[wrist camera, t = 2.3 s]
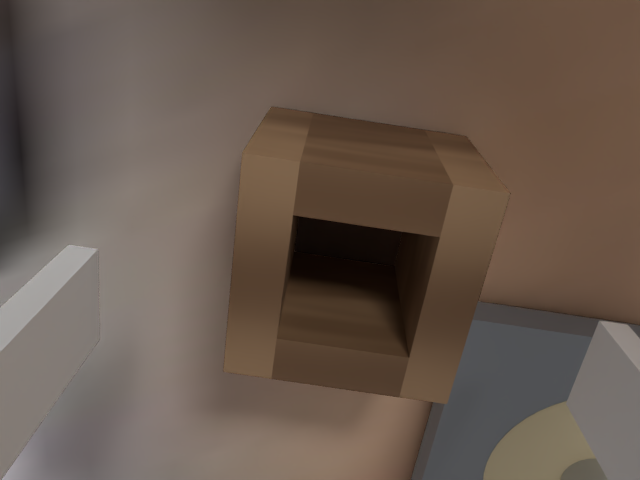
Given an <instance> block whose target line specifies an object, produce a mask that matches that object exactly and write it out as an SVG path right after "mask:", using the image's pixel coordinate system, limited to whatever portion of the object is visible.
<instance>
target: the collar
mask: <svg viewBox="0 0 640 480" xmlns="http://www.w3.org/2000/svg"><path fill="white" fill-rule="evenodd" d="M510 194H511V193H510V192H509V191H508V190H507V188H506V187H505V186H504V184H503V183H502V182H501V181H500V179H499V178H498V177H497V175H496V174H495V173H494V171H493V170H492V169H491V168H490V166H489V165H488V164H487V162H486V161H485V160H484V159H483V157H482V156H481V155H480V153H479V152H478V151H477V149H476V148H475V147H474V146H473V144H472V143H471V142H470V140H469V139H468V138H467V137H466V136H460V135H454V134H447V133H441V132H434V131H428V130H421V129H415V128H408V127H402V126H395V125H388V124H382V123H375V122H369V121H362V120H356V119H349V118H343V117H336V116H330V115H323V114H317V113H310V112H303V111H297V110H290V109H284V108H277V107H271V108H270V109H269V111H268V113H267V114H266V116H265V117H264V119H263V121H262V122H261V124H260V125H259V127H258V128H257V130H256V132H255V133H254V135H253V136H252V138H251V140H250V141H249V143H248V144H247V146H246V148H245V149H244V151H243V152H242V160H241V172H240V183H239V195H238V206H237V218H236V229H235V241H234V252H233V264H232V275H231V287H230V298H229V310H228V321H227V333H226V344H225V356H224V367H223V372H228V373H235V374H242V375H249V376H256V377H262V378H269V379H276V380H283V381H290V382H297V383H304V384H311V385H318V386H325V387H332V388H339V389H345V390H352V391H359V392H366V393H373V394H380V395H387V396H394V397H401V398H408V399H415V400H422V401H429V402H435V403H442V404H447V403H448V399H449V396H450V393H451V389H452V386H453V383H454V379H455V376H456V373H457V369H458V366H459V363H460V360H461V356H462V353H463V350H464V346H465V343H466V340H467V336H468V333H469V330H470V326H471V323H472V320H473V316H474V313H475V310H476V307H477V303H478V300H479V297H480V293H481V290H482V287H483V283H484V280H485V277H486V273H487V270H488V267H489V263H490V260H491V257H492V254H493V250H494V247H495V244H496V240H497V237H498V234H499V230H500V227H501V224H502V220H503V217H504V214H505V210H506V207H507V204H508V201H509V197H510ZM299 216H301V217H308V218H314V219H321V220H328V221H335V222H341V223H348V224H355V225H361V226H368V227H375V228H381V229H388V230H395V231H401V232H402V235H401V239H400V243H399V248H398V252H397V257H396V261H395V266H389V265H382V264H375V263H369V262H362V261H355V260H348V259H342V258H335V257H328V256H321V255H315V254H308V253H301V252H294V250H295V242H296V235H297V228H298V221H299Z"/></svg>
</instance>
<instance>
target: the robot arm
mask: <svg viewBox="0 0 640 480" xmlns="http://www.w3.org/2000/svg"><path fill="white" fill-rule="evenodd" d="M99 340H100V318H99V258H98V249H95V248H88V247H81V246H74V245H68V246H66V247H65V248H64V249H63V250H62V251H61V252H60V253H59V254H58V255H57V256H56V257H54V258H53V259H52V260H51V261H50V262H49V263H48V264H47V265H46V266H45V267H44V268H43V269H41V270H40V271H39V272H38V273H37V274H36V275H35V276H34V277H33V278H32V279H31V280H29V281H28V282H27V283H26V284H25V285H24V286H23V287H22V288H21V289H20V290H19V291H17V292H16V293H15V294H14V295H13V296H12V297H11V298H10V299H9V300H8V301H7V302H6V303H4V304H3V305H2V306H1V307H0V480H2V478H3V477H4V476H5V474H6V473H7V471H8V470H9V468H10V467H11V466H12V464H13V463H14V461H15V460H16V458H17V457H18V456H19V454H20V453H21V451H22V450H23V448H24V447H25V446H26V444H27V443H28V441H29V440H30V438H31V437H32V435H33V434H34V433H35V431H36V430H37V428H38V427H39V425H40V424H41V423H42V421H43V420H44V418H45V417H46V415H47V414H48V413H49V411H50V410H51V408H52V407H53V405H54V404H55V403H56V401H57V400H58V398H59V397H60V395H61V394H62V393H63V391H64V390H65V388H66V387H67V385H68V384H69V383H70V381H71V380H72V378H73V377H74V375H75V374H76V373H77V371H78V370H79V368H80V367H81V365H82V364H83V362H84V361H85V360H86V358H87V357H88V355H89V354H90V352H91V351H92V350H93V348H94V347H95V345H96V344H97V342H98V341H99ZM566 405H567V406H568V408H569V410H570V412H571V414H572V416H573V417H574V419H575V421H576V423H577V425H578V426H579V428H580V430H581V432H582V434H583V435H584V437H585V439H586V441H587V443H588V445H589V446H590V448H591V450H592V452H593V454H594V455H595V457H596V459H597V461H598V463H599V464H600V466H601V468H602V470H603V472H604V474H605V475H606V477H607V479H608V480H640V338H639V337H638V336H637V335H636V334H635V332H634V331H633V330H632V329H631V328H630V327H629V326H628V325H627V324H620V323H613V322H606V321H599V322H598V325H597V327H596V330H595V332H594V335H593V337H592V340H591V342H590V345H589V347H588V350H587V352H586V355H585V357H584V360H583V362H582V365H581V367H580V370H579V372H578V375H577V377H576V380H575V382H574V385H573V387H572V390H571V392H570V395H569V397H568V400H567V402H566Z"/></svg>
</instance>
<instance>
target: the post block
mask: <svg viewBox="0 0 640 480" xmlns="http://www.w3.org/2000/svg"><path fill="white" fill-rule="evenodd" d="M599 321H606V322H613V323H620V324H627V325H628V326H629V327H630V328H631V329H632V330H633V331H634V332H635V334H636V335H637V336H638V337H639V338H640V325H635V324H628V323H621V322H614V321H608V320H601V319H594V318H587V317H581V316H574V315H567V314H560V313H554V312H547V311H540V310H533V309H526V308H520V307H513V306H506V305H499V304H493V303H486V302H479V301H478V303H477V307H476V310H475V313H474V316H473V320H472V323H471V326H470V330H469V333H468V336H467V340H466V343H465V346H464V350H463V353H462V356H461V360H460V363H459V366H458V369H457V373H456V376H455V379H454V383H453V386H452V389H451V393H450V396H449V399H448V403H447V404H442V403H435V402H433V405H432V408H431V412H430V415H429V418H428V422H427V425H426V429H425V432H424V436H423V439H422V443H421V446H420V450H419V453H418V457H417V460H416V464H415V467H414V471H413V474H412V477H411V480H608V479H607V477H606V475H605V474H604V472H603V470H602V468H601V466H600V464H599V463H598V461H597V459H596V457H595V455H594V454H593V452H592V450H591V448H590V446H589V445H588V443H587V441H586V439H585V437H584V435H583V434H582V432H581V430H580V428H579V426H578V425H577V423H576V421H575V419H574V417H573V416H572V414H571V412H570V410H569V408H568V406H567V405H566V402H567V400H568V397H569V395H570V392H571V390H572V387H573V385H574V382H575V380H576V377H577V375H578V372H579V370H580V367H581V365H582V362H583V360H584V357H585V355H586V352H587V350H588V347H589V345H590V342H591V340H592V337H593V335H594V332H595V330H596V327H597V325H598V322H599Z"/></svg>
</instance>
